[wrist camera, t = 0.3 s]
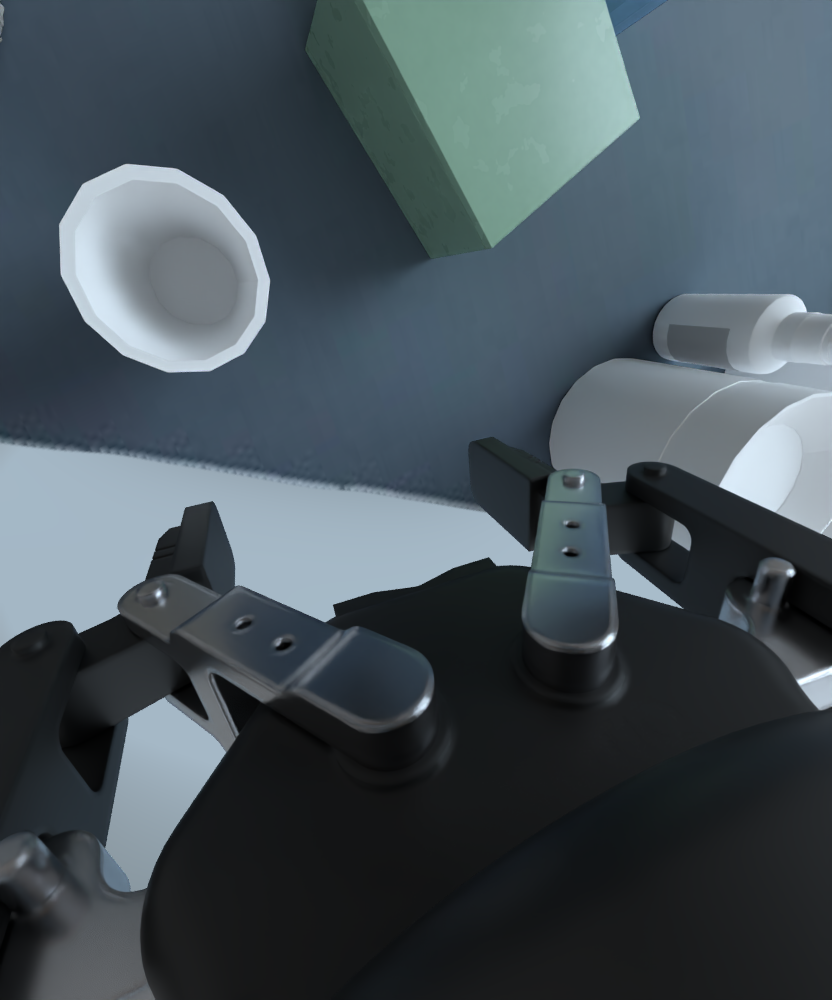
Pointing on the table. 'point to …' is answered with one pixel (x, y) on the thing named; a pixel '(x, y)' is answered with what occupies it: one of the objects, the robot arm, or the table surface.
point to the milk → (796, 375)
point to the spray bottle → (742, 332)
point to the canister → (702, 434)
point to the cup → (629, 12)
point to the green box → (388, 128)
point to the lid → (507, 94)
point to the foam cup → (163, 268)
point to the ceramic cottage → (1, 20)
